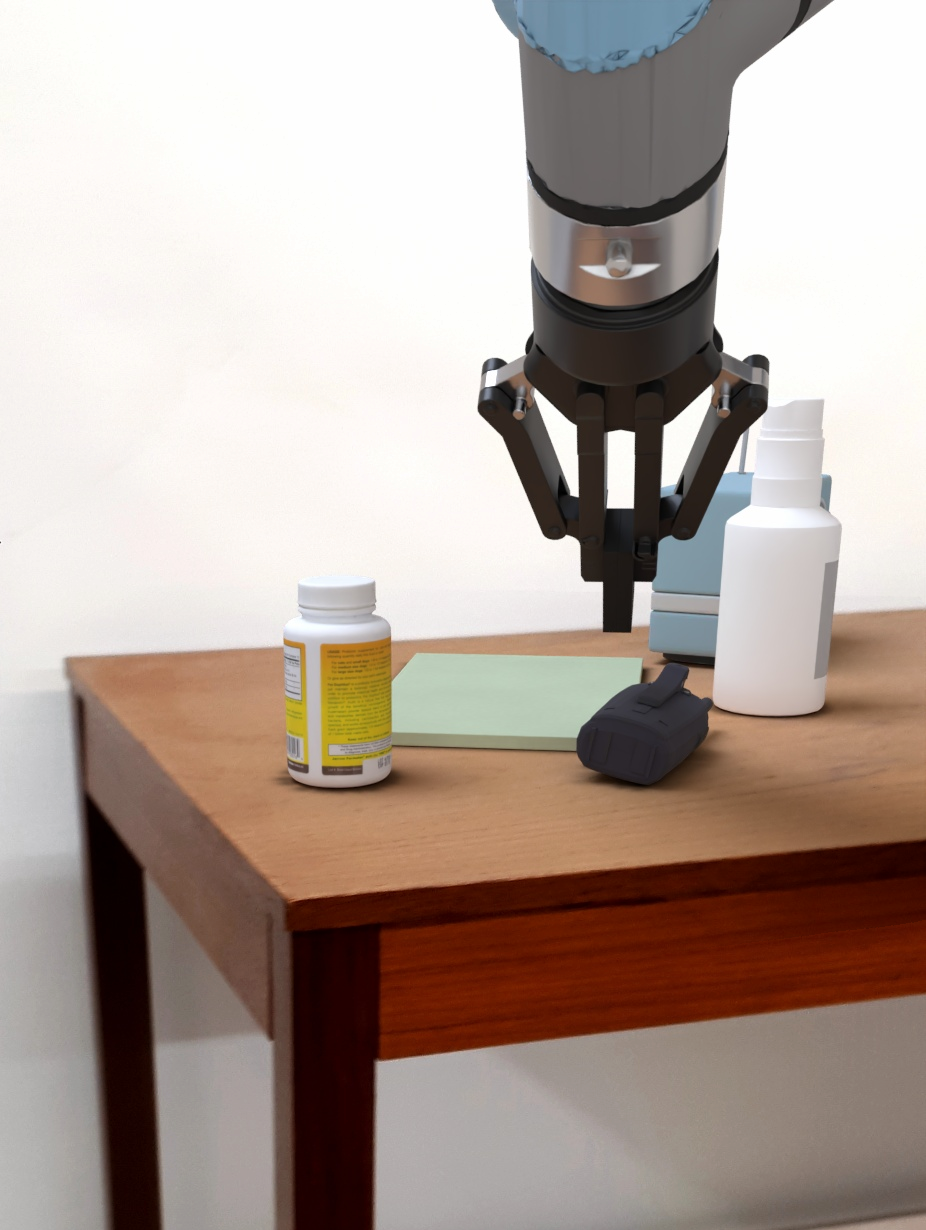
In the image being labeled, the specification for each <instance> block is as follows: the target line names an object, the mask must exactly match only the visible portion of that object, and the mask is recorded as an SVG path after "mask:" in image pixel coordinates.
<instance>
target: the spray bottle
mask: <svg viewBox="0 0 926 1230" xmlns="http://www.w3.org/2000/svg"><path fill="white" fill-rule="evenodd" d="M824 406H825V398H822V397H768V408H767V410H766V412H765V413H764V414H763V415H762V423H761V428H760V429H759V430H760V431H759V432H760V433H759V437H757V438H756V449H755V460H754V461H755V462H754V471H753V472H754V475H753V479H752V491H751V504H750V505H749V506H748V507H746V508H745V509H743V510H742V511H740V512H738V513H737V514H735V515H734V516H732V517H730V518H729V520H728V521H727V522H726V525H725V537H724V550H723V564H722V577H721V590H720V604H719V617H718V630H717V644H716V657H715V665H714V673H713V683H712V684H713V685H712V702H713V705H714V706H715V707H717V708H719V709H722V710H724V711H727V712H731V713H734V714H740V715H747V716H757V717H758V716H759V717H796V716H802V715H807V714H811V713H814V712H818V711H820V710H821V709H822V708H823V707H824V704H825V700H826V691H827V680H828V672H829V661H830V650H831V641H832V630H833V623H834V613H835V612H834V611H835V601H836V591H837V582H838V571H839V561H840V550H841V541H842V531H843V528H842V527H843V526H842V523H841V521H840V520H839V519H838V518H837V517H836V516H834V515H833V514H830V513H831V512H830V511H829V512H830V513H829V512H827V511H826V510H825V509H823V508H822V507H821V506H820V499H821V489H822V478H823V477H822V475H821V474H823V471H822V470H823V461H824V452H825V440H826V439H825V438H824V437H823V433H824V429H823V418H824V410H825V409H824V408H825V407H824Z"/></svg>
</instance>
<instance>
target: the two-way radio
mask: <svg viewBox="0 0 926 1230" xmlns="http://www.w3.org/2000/svg"><path fill="white" fill-rule="evenodd" d="M689 674H690V667H688V666H687V665H684V664H680V663H677V662H668V663H666V665H665V666H663V669H662V671H661V672H660V674H659V675H658V676H657V678H656V679H655V680H654V681H650V682H641V683H640V684H634V685H631V686H629V687H627V688H625V689H624V690H622V691H621V692H619V693H618V694H616V695H615V696H614V697H612V698H611V699H610V700H609V701H608V702H607V703H606V704H605V705H604V706H603V707H601V708H600V709H599V710H598V711H597V712H596V713H595V714H594V715H593V716H592V717H591V719H590V720H589V721H588V722H586V723H585V724H584V725H583V726H582V727H581V729H580V732H579V734H578V737H577V742H576V751H575V752H576V756H577V758H578V760H579V761H580V762H581V764H582V766H583V767H585V768H587V769H589V770H591V771H594V772H598V773H600V774H602V775H605V776H609V777H612V778H615V779H619V780H622V781H627V782H631V783H635V784H640V785H644V786H645V785H646V786H649V785H652V784H655V783H656V782H658V781H660V780H662V779H663V778H664V777H665V776H666V775H667V774H669V773H670V772H671V771H673V769H675V768H676V767H678V765H680V764H681V763H682V762H683V761H684V760H685V759H686V758H688V756H690V754H692V753H693V752H694V751H695V750H697V749H698V748H699V747H700V746H701V745H702V744H703V743H704V742H705V740H706V738H707V737H708V736H707V735H708V733H709V730H710V726H709V711H710V710H711V709H712V707H713V705H714V702H713V699H712V698H710V697H707V696H706V697H705V696H704V697H703V698H701V697H699V696H698V695H696V694H694V693H692V691H691V690H690V689H688V688H686V687H685V683H686V680H688V677H689Z"/></svg>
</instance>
